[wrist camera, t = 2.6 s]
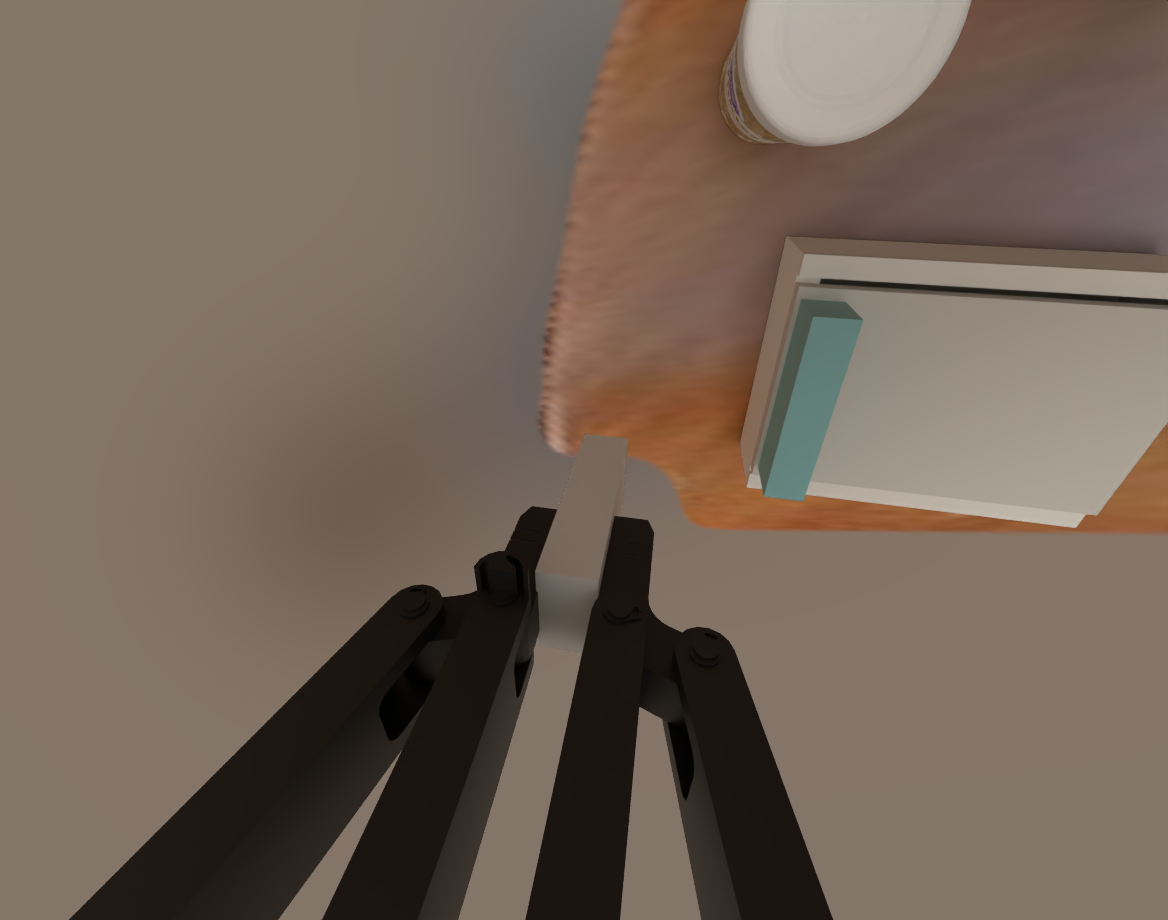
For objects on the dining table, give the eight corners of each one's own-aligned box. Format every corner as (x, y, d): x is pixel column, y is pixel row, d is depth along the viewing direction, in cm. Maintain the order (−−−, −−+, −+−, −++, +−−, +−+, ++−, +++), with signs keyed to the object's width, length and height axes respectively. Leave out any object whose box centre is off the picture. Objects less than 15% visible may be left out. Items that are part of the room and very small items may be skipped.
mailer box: (1156, 254, 22) (1260, 278, 18) (1021, 473, 28) (1076, 527, 24) (786, 236, 24) (804, 253, 20) (739, 442, 31) (746, 487, 27)
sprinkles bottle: (701, 65, 21) (708, -24, 10) (807, -14, 20) (956, -228, 8) (742, 168, 23) (786, 187, 12) (844, 104, 21) (1006, 58, 10)
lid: (1229, 308, 19) (1323, 337, 16) (1085, 505, 24) (1137, 552, 21) (795, 282, 21) (811, 302, 18) (750, 466, 26) (757, 504, 24)
